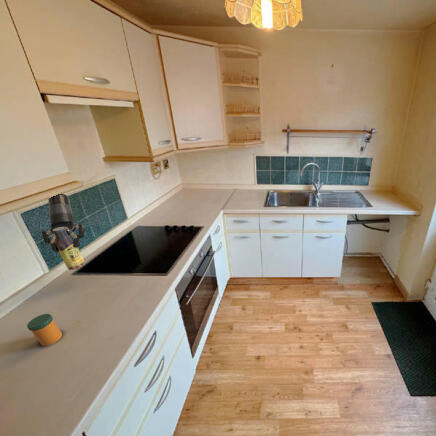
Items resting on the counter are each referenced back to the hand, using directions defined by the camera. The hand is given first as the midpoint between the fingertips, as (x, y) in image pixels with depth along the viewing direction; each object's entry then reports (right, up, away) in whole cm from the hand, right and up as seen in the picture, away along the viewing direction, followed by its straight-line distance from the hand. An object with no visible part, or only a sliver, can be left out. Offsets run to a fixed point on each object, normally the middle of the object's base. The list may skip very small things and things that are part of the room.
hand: (66, 249), depth 101 cm
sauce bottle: (-1, -9, +6) cm, 11 cm away
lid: (+12, -22, -21) cm, 33 cm away
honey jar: (+12, -31, -17) cm, 37 cm away
